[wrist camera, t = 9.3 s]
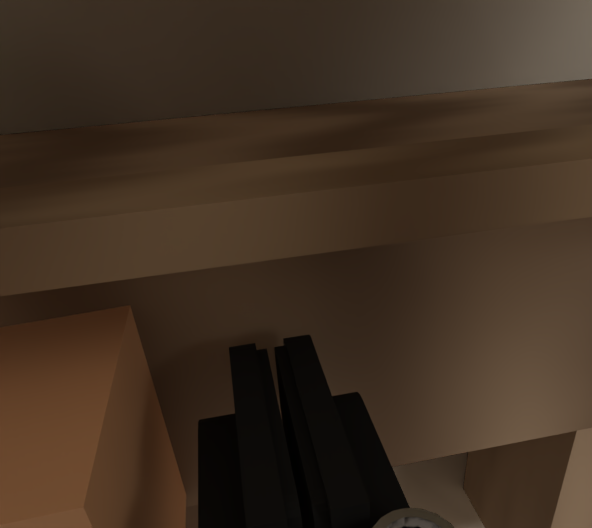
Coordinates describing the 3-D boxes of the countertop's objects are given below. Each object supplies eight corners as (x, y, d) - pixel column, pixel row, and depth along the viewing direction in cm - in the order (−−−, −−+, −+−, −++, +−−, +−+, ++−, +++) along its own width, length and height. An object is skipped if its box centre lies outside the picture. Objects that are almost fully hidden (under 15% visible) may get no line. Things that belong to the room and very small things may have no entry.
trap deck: (757, 63, 15) (1183, 98, 9) (624, 455, 23) (796, 631, 16) (-267, 160, 12) (-875, 347, 5) (-17, 586, 19) (-126, 880, 13)
